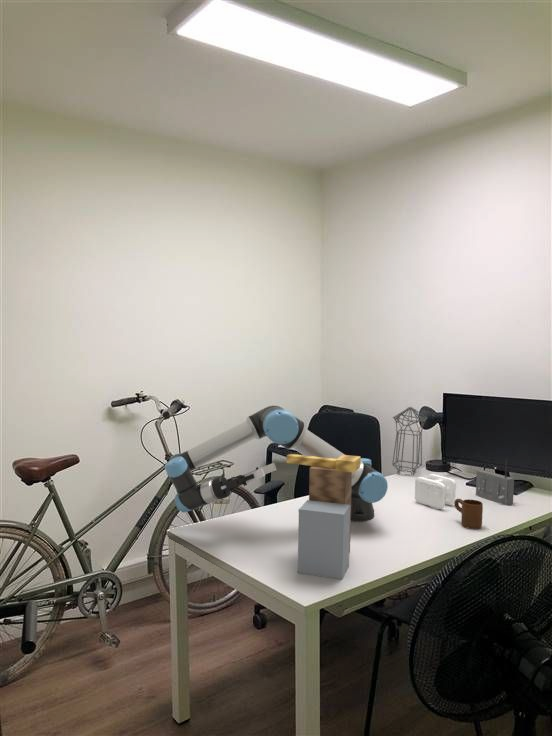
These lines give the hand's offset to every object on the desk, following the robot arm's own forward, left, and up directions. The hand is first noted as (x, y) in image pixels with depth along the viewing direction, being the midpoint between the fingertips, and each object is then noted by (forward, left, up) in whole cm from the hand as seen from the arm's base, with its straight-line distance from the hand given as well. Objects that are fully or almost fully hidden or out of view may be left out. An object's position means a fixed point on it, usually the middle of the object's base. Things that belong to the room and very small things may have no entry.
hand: (269, 469), depth 199 cm
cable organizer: (+18, +84, -27) cm, 91 cm away
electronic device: (+32, +109, -27) cm, 117 cm away
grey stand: (+26, -2, -27) cm, 37 cm away
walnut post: (+20, +8, -27) cm, 35 cm away
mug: (+39, +70, -27) cm, 85 cm away
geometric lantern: (-18, +123, -27) cm, 128 cm away
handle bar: (+17, +7, +3) cm, 19 cm away
